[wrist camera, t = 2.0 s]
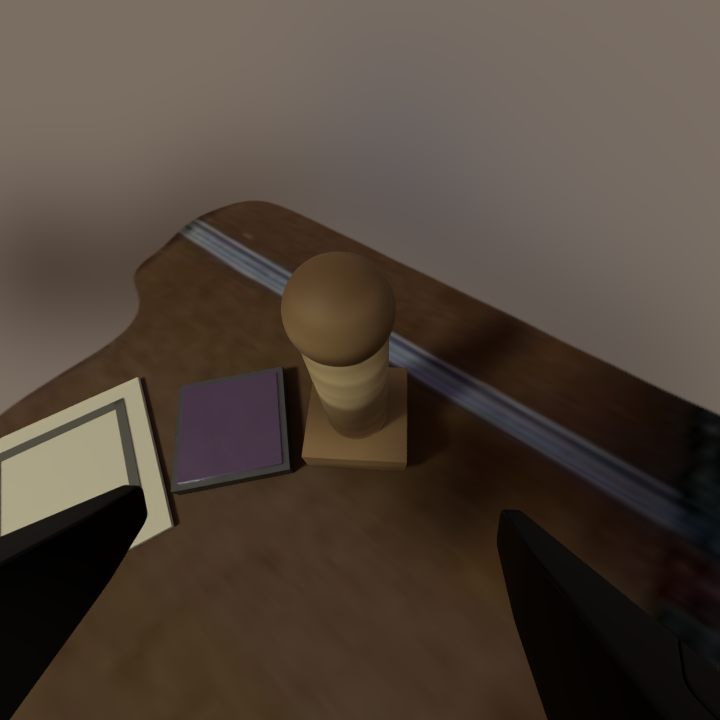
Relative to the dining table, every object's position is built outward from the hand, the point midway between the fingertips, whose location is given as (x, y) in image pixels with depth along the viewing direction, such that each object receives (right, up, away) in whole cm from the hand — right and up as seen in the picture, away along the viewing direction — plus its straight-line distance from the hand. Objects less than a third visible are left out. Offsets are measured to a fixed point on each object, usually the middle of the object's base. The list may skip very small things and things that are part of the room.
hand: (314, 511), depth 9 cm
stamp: (+1, -1, +14) cm, 14 cm away
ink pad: (-7, -1, +14) cm, 16 cm away
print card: (-17, -4, +13) cm, 22 cm away
